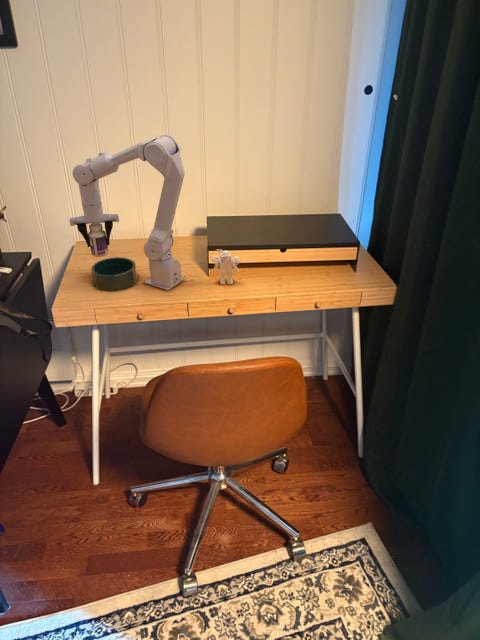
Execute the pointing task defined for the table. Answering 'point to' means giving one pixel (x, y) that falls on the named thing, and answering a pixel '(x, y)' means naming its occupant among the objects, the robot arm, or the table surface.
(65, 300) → the table surface
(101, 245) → the pill bottle
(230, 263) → the blocky character figurine
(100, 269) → the pot
